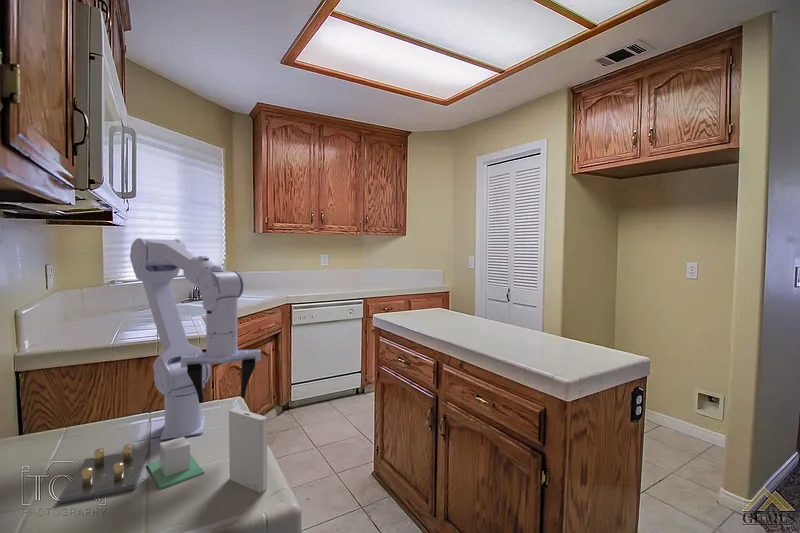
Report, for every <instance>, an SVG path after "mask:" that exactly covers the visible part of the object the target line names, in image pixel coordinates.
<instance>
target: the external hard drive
mask: <svg viewBox="0 0 800 533" xmlns="http://www.w3.org/2000/svg"><path fill="white" fill-rule="evenodd" d="M228 412H229V413H228V416H229V417H228V429H229V430H228V433H229V435H228V436H229V437H228V440H229V441H228V442H229V446H228V447H229V453H228V454H229V455H228V456H229V480H230V481H232V482H235V483H237V484H240V485H241V486H244V487H247V488H248V489H250V490H253V491H255V492H257V493H263V492H265V491H267V490H268V417H267V416H265V415H262V414H257V413H254V412H251V411H248V410H244V409H241V408H238V407H234V408H231V409H229V410H228Z"/></svg>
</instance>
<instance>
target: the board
mask: <svg viewBox="0 0 800 533" xmlns="http://www.w3.org/2000/svg"><path fill="white" fill-rule="evenodd" d="M146 466H147V468H148V470H149V472H150V474H151V476H152V477H153V479H154V481H155V484H156V485H157V487H158V488H159V490H162V489H165V488H168V487H169V488H170V487H171V486H173V485H174V486H175V485H177V484H179V483H182V482H185V481H188V480H191V479H194V478H195V477H196V478H197V477H199V476H201V475H204V474H205V471H204V470H203V469H202V468H201V466H200V465H199V464H198V462H197V461H196V460H195V458H194V457H193V456H192V455H191V443H190V442H189V441H188V440H187V438H186V437H178V438H172V439H171V440H167V441H163V442H159V459H158V460H155V461H152V462H148V463H146Z"/></svg>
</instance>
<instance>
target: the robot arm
mask: <svg viewBox="0 0 800 533" xmlns="http://www.w3.org/2000/svg"><path fill="white" fill-rule="evenodd" d="M129 259H130V263H131V266H132V268H133V273H134V275H135V277H136V278H135V279H137V280H139V281H140V282H142V284H143V287H144V291H145V294H146V298H147V301H148V304H149V307H150V308H149V309H150V311H151V314H152V318H153V321H154V325H155V327H156V331H157V334H158V338H159V340H160V341H159V342H160V344H161V348H162V352H161V354H159V355H158V356H157V358H155V360H154V361H153V362H154V363H153V364H152V367H153V373H154V374H153V378H154V379H153V382H154V385H155V387H156V389H157V391H158V392H160V393H161V394H162V395H164V427H163V429H162V432H161V435H160V440H161V441H163V440H164V441H165V440H169V439H171V440H172V439H177V438H181V437H184V438H186V437H190V436H196V435H201V434H203V433H204V426H205V418H206V417H205V415H202V404H203V403H204V388H205V387H206V385H205V384H206V383H207V382H208V381H209V379H210V377H211V365H217V364H226V363H228V364H229V363H237V362H241V384H240V386H241V387H240V398H241V399H245V398H246V392H247V388H248V384H249V381H250V378H251V376H252V374H253V372H254V370H255V367H256V362H258V361H260V362H261V360H262V358H261V356H262V353H261V352H262V351H261V349H260V348H258V349H238V299H240V298H241V296H242V294H243V293H244V286H245V285H244V280H243V278H242V275H241V274H240V273H239V272H238V271H237V270H236V269H235V270H229V271H227V270H224V269H223V268H222V266H220V265H218V264H216V263H214V262H213V261H211V260H210V257H208V256H207V255H199V256H195V255H194V254H193V253H191V252H190V251H189V250H187V247H186V244H185V242H183V241H181V240H180V239H177V238H176V239H154V238H153V239H152V238H151V239H148V238H140V237H138V238H136V239H135V240H134V241H133V242H132V243H131V246H130V254H129ZM180 270H181V271H182V272H183V276H184V278H185V279H186V280H187V281H188V282H190V283H191V284H192V285H194V286H195V287H197V288H198V290H199V293H200V294H199V295H200V296H201V299H202V307H203V310H205V317H206V318H205V324H206V325H205V327H206V329H205V331H206V334H205V337H206V339H205V341H206V345H205V347H206V352H203V350H202V349H201V348H199V347H197V346H195V345H193V344H191V343H189V341H188V338H187V334H186V331H185V328H184V325H183V322H182V319H181V315H180V312H179V309H178V306H177V303H176V300H175V297H174V293H173V290H172V287H171V284H170V282H171V280H174V279H175V278H177V277H178V275H179V272H180Z"/></svg>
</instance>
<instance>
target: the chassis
mask: <svg viewBox="0 0 800 533" xmlns="http://www.w3.org/2000/svg"><path fill="white" fill-rule="evenodd" d="M93 452H94V455H93V456H94V457H90V458H84V461H83V462H82V464H81V465H80V467H79V468H78V470H77V472H76V473H75V475H74V476H73V478H72V479H71V481H69V483H68V485H67V487H66V488H65V490H64V491H63V493H62V494H61V495H60V497H59V504H60V505H62V504H67V503H72V502H73V503H74V502H77V501H83V500H88V499H89V500H90V499H93V498H99V497H103V496H109V495H110V496H111V495H115V494H121V493H124V492H125V493H127V492H130V491H136V487H137V484H138V483H139V480H140V477H141V474H142V471H143V469H144V466H145V463H146V462H147V458H148V455H149V448H147V449H141V450H134V451H133V444H131V443H128V444H125V445H123V446H122V452H121V453H114V454H109V455H108V454H107V455H105V448H97V449H95V450H94V451H93Z"/></svg>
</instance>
